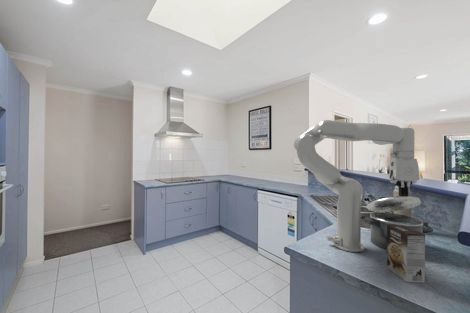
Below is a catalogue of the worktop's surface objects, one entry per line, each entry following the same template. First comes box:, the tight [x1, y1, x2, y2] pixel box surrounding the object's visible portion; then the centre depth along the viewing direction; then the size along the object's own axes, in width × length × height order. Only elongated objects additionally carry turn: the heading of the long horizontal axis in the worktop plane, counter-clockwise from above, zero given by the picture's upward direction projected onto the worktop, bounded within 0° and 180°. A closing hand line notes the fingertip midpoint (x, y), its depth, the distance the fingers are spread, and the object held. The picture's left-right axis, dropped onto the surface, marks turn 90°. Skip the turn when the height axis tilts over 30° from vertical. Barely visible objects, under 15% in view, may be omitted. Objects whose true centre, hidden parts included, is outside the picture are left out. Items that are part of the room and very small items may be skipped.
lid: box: [366, 195, 422, 213], centre depth 97 cm, size 22×21×4 cm
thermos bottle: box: [393, 185, 412, 217], centre depth 116 cm, size 8×8×28 cm
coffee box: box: [386, 225, 426, 284], centre depth 70 cm, size 9×6×16 cm
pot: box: [363, 212, 429, 251], centre depth 94 cm, size 26×20×13 cm
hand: (403, 196), depth 89 cm, fingers closed
